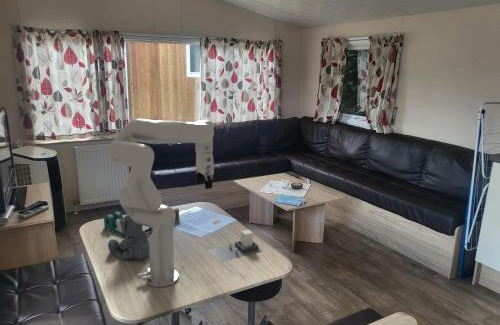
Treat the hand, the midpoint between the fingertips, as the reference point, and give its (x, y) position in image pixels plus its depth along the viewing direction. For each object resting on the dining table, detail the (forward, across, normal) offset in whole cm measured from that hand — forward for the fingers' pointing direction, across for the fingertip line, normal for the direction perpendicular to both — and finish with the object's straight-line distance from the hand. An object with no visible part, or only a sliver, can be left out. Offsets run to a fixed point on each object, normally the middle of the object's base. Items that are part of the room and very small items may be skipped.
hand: (204, 185), depth 176 cm
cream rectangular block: (+29, -12, -16) cm, 35 cm away
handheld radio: (+31, +30, +12) cm, 44 cm away
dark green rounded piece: (+31, +34, +31) cm, 56 cm away
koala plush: (+31, +8, +31) cm, 44 cm away
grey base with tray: (+30, -12, -10) cm, 34 cm away
